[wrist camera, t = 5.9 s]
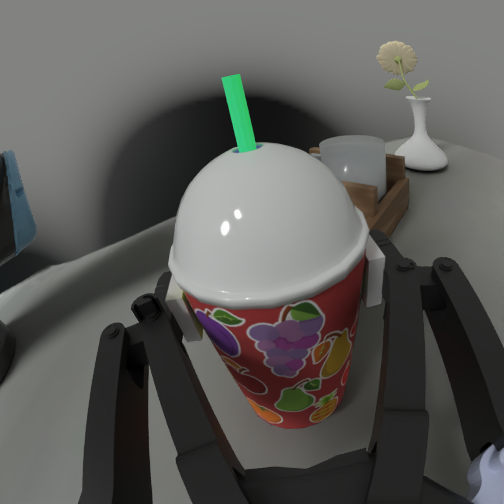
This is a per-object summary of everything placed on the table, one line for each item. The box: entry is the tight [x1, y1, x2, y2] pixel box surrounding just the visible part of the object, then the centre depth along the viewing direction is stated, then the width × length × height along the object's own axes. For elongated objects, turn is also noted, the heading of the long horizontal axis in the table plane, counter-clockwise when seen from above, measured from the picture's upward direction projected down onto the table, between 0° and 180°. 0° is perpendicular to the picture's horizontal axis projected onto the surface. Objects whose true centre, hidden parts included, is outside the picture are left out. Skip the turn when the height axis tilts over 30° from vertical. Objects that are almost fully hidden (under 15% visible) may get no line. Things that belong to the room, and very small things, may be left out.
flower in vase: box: [377, 41, 448, 171], centre depth 43 cm, size 13×11×25 cm
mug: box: [310, 135, 387, 204], centre depth 35 cm, size 10×8×9 cm
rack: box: [309, 147, 409, 238], centre depth 34 cm, size 16×24×8 cm, turn 138°
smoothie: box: [168, 74, 370, 429], centre depth 14 cm, size 8×8×20 cm
